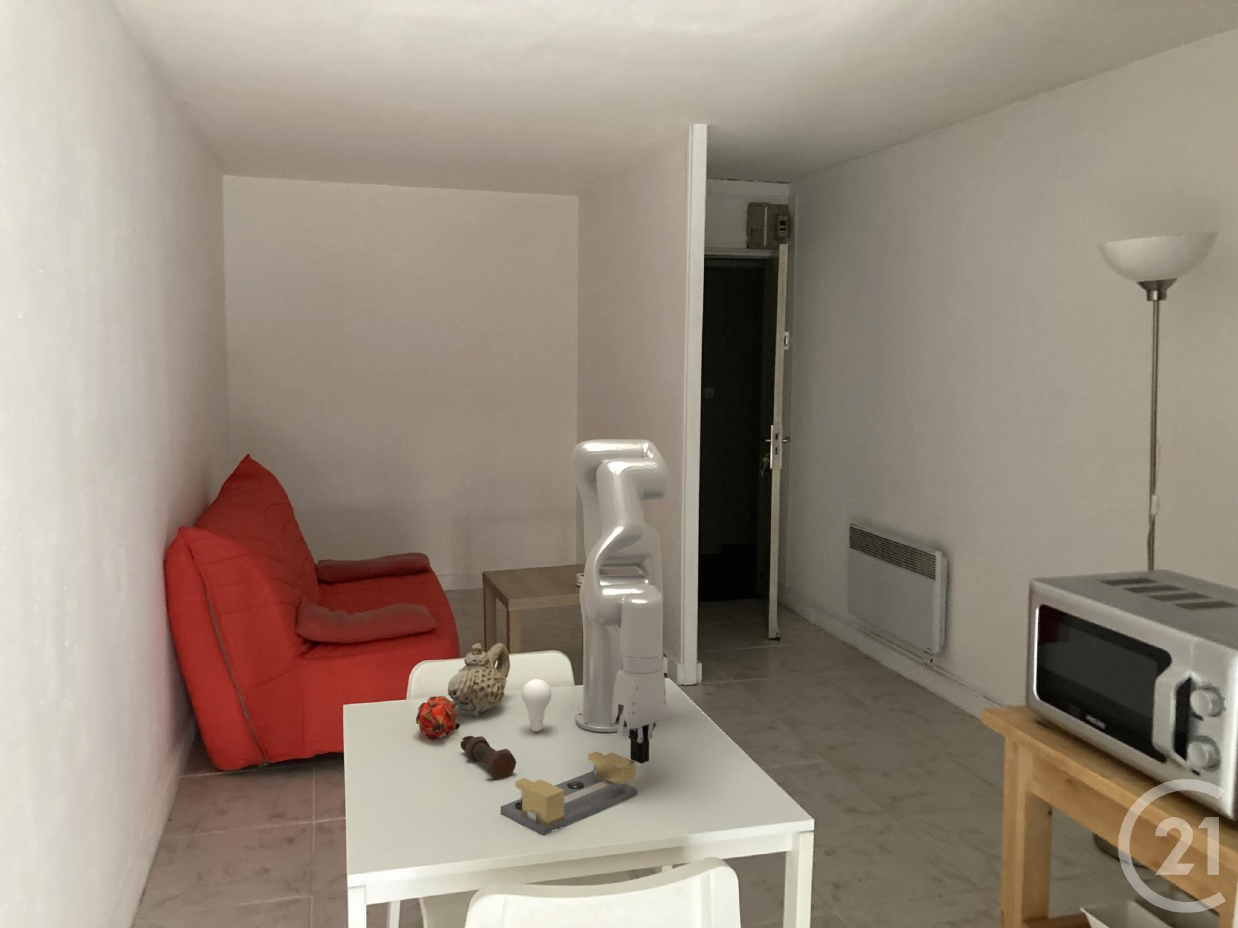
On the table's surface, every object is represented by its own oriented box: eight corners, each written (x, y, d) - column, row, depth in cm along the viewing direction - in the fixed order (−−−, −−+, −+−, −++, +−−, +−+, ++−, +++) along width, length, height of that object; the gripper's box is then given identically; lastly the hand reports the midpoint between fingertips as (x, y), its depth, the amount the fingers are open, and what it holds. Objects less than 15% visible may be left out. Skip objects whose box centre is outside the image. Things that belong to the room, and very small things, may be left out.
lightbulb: (556, 729, 212) (556, 677, 210) (542, 738, 206) (542, 686, 205) (530, 724, 214) (531, 673, 213) (516, 733, 209) (516, 681, 207)
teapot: (474, 731, 210) (473, 660, 208) (427, 721, 215) (427, 652, 213) (526, 700, 229) (527, 634, 228) (483, 692, 234) (483, 628, 232)
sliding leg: (599, 769, 187) (600, 747, 186) (635, 784, 180) (635, 761, 180) (584, 775, 184) (584, 753, 184) (619, 790, 178) (619, 768, 177)
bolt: (470, 760, 200) (507, 784, 187) (450, 752, 197) (485, 776, 185) (483, 732, 201) (520, 755, 188) (463, 724, 198) (499, 746, 186)
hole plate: (594, 776, 188) (594, 745, 187) (637, 794, 180) (637, 762, 180) (500, 813, 172) (500, 779, 172) (543, 835, 165) (543, 800, 164)
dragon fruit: (440, 730, 214) (441, 760, 203) (407, 710, 212) (406, 740, 200) (465, 699, 213) (467, 728, 202) (431, 679, 211) (432, 707, 199)
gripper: (653, 649, 191) (652, 744, 193) (596, 666, 181) (595, 765, 182) (684, 658, 186) (682, 755, 188) (627, 675, 175) (625, 778, 177)
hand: (639, 760), depth 185 cm, fingers closed
